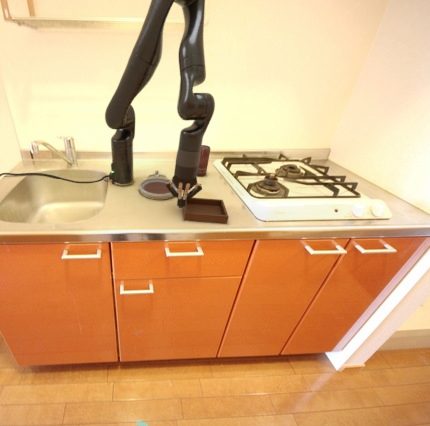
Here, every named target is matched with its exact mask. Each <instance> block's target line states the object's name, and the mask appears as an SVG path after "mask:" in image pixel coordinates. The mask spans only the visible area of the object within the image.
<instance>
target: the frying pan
mask: <svg viewBox="0 0 430 426" xmlns="http://www.w3.org/2000/svg"><path fill="white" fill-rule="evenodd" d="M159 172H160V171H159V170H158V169H156V170H155V173H153V174H148V178H146V179H142V180H141V181H140V182H139V184H138V190H139V191H140V193H141V195H142V196H144V197H146V198H147V199H152V200H159V201H160V200H167V199H171V198H174V197H173V195H172V194H171V192H170V191H169V190H168V188H167V187H166V182H167V181H171V180H172V179H170V178H167V176H166V174H159ZM173 188H174V189H175V190H176V192H177V193H178V189H177V188H176V186H175V185H174V183H173Z"/></svg>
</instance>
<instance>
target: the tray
mask: <svg viewBox="0 0 430 426" xmlns="http://www.w3.org/2000/svg"><path fill="white" fill-rule="evenodd" d="M228 220H229V213H228V211H227V208H226V205H225V202H224V199H220V198H219V199H217V198H206V197H205V198H204V197H192V198H191V199H189V198H188V199H186V202H185V206H184V207H183V221H189V222H201V223H213V224H225V225H226V224H228Z"/></svg>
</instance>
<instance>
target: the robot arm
mask: <svg viewBox="0 0 430 426" xmlns="http://www.w3.org/2000/svg"><path fill="white" fill-rule="evenodd" d="M174 3H175V4H176V5H178V6H180V7H181V11H182V14H183V21H184V29H183V33H182V35H181V36H182V37H181V38H180V43H179V46H178V53H177V54H178V57H177V58H178V69H179V70H178V71H179V89H178V96H177V103H176V111H177V114H178V116H179V119H181V120H182V121H193V122H192V124H190V125H189V126H187V127H184V128H182V129H181V130H180V133H179V137H178V138H179V139H178V147H177V152H176V155H175V156H176V157H175V165H174V173H173V176H172V178H171V179H170V180H171V181H167V182H166V187H167V188H168V190H169V191H170V192H171V194H172V195H173V197H172V198H177V201H176V207H178V208H179V209H184V206H185V202H186V199H188V198H189V199H191V198H194V197H195V196H196V195H197V194H198V193H199V192H201V191H202V190H203V186H202V184H201V183H199V182H198V176H197V172H198V167H199V163H200V153H201V146H202V145H203V139H204V136H205V134H206V132H207V129H208V127H209V125H210V122H211V120H212V118H213V116H214V113H215V109H216V102H215V98H214V96H213V94H211V92H210V93H209V92H194V88H196V87H198V86H200V85H202V84H203V83H204V82H205V81H206V78H207V70H206V68H207V67H206V59H205V58H206V57H205V56H206V55H205V45H204V42H205V41H204V32H205V31H204V28H205V9H206V0H150V4H149V7H148V10H147V13H146V16H145V18H144V21H143V23H142V26H141V29H140V31H139V34H138V36H137V39H136V41H135V43H134V44H133V47H132V50H131V53H130V55H129V57H128V60H127V62H126V65H125V68H124V70H123V73H122V75H121V78H120V80H119V82H118V85H117V88H116V89H115V92H114V93H113V95H112V97H111V98H110V101H109V103H108V105H107V106H106V109H105V112H104V120H105V121H104V122H105V124H106V126H107V127H108V128H109V129H110V130H115V132H114V134H113V135H112V136H111V138H110V149H111V150H110V151H111V162H110V172H109V174H107V175H104V176H103V177H101V178H100V179H97V180H91V181H79V180H78V181H77V180H73V179H68V178H64V177H61V176H56V175H54V174H49V173H43V172H42V173H41V172H27V173H26V172H23V173H12V172H2V173H0V177H2V176H4V175H7V176H31V175H35V176H37V175H38V176H46V177H51V178H55V179H59V180H61V181H64V182H65V181H66V182H69V183H74V184H93V183H98V182H102V181H103V180H104V179H106V178H108V181H111V183H112V185H115V186H120V187H127V186H130V185H132V184H134V140H135V136H136V112H135V108H134V106H133V105H132V103H133V101H134V100H135V98H136V97H138V95H140V93H141V92H142V91H143V90H144V89H145V88H146V86H147V85H148V84H149V83H150V82H151V80H152V79H153V77H154V75H155V73H156V71H157V69H158V67H159V65H160V62H161V61H162V57H163V49H164V48H163V45H164V29H165V25H166V22H167V18H168V16H169V14H170V11H171V9H172V7H173V5H174ZM173 183H174V185H175V186H176V188H177V189H178V191H177V192H176V190H175V189H174V188H173Z"/></svg>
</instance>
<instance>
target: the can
mask: <svg viewBox="0 0 430 426" xmlns="http://www.w3.org/2000/svg"><path fill="white" fill-rule="evenodd" d="M210 154H211V147H210V146H209V145H205V144H202V146H201V153H200V163H199V167H198V172H197V177H198V178H199V177H201V178H202V177H205V176H206V175H207V171H208V165H209V159H210Z"/></svg>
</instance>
